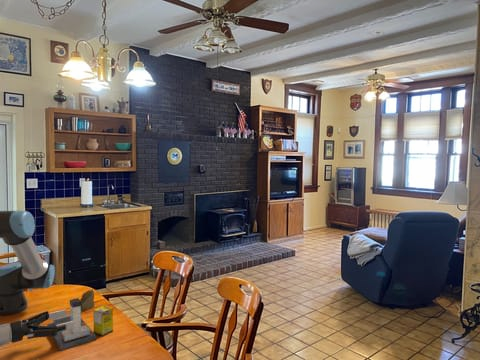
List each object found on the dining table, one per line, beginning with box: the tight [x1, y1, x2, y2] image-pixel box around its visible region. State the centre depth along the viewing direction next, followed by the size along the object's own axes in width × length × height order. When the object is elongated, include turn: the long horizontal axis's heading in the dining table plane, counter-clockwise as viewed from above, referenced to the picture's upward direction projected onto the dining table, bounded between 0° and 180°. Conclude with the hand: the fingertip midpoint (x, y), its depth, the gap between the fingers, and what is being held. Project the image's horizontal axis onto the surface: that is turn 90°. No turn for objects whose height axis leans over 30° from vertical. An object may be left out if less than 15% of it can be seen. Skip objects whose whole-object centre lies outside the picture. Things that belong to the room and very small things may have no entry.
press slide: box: [62, 297, 91, 342], centre depth 153 cm, size 5×10×15 cm, turn 129°
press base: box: [46, 313, 97, 351], centre depth 159 cm, size 24×14×5 cm, turn 39°
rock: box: [80, 289, 95, 312], centre depth 186 cm, size 11×9×10 cm
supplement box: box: [92, 305, 114, 337], centre depth 161 cm, size 6×6×11 cm
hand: (69, 318), depth 151 cm, fingers open, 13 cm apart
